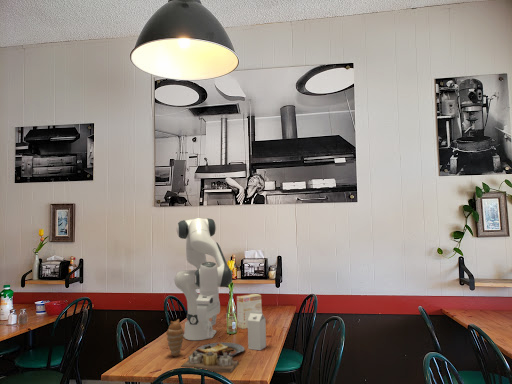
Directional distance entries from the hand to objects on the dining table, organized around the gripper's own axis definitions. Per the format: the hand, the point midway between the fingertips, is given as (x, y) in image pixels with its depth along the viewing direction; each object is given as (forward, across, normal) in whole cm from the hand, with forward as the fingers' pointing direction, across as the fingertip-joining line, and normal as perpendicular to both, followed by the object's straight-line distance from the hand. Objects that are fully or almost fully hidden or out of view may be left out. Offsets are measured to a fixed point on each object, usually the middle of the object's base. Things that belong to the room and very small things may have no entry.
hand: (209, 327), depth 198 cm
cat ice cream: (+18, -11, -23) cm, 31 cm away
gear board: (+18, 0, 0) cm, 18 cm away
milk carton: (+18, -32, +14) cm, 39 cm away
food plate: (+19, -21, -3) cm, 28 cm away
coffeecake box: (+19, -77, -3) cm, 79 cm away
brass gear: (+16, 0, 0) cm, 16 cm away
